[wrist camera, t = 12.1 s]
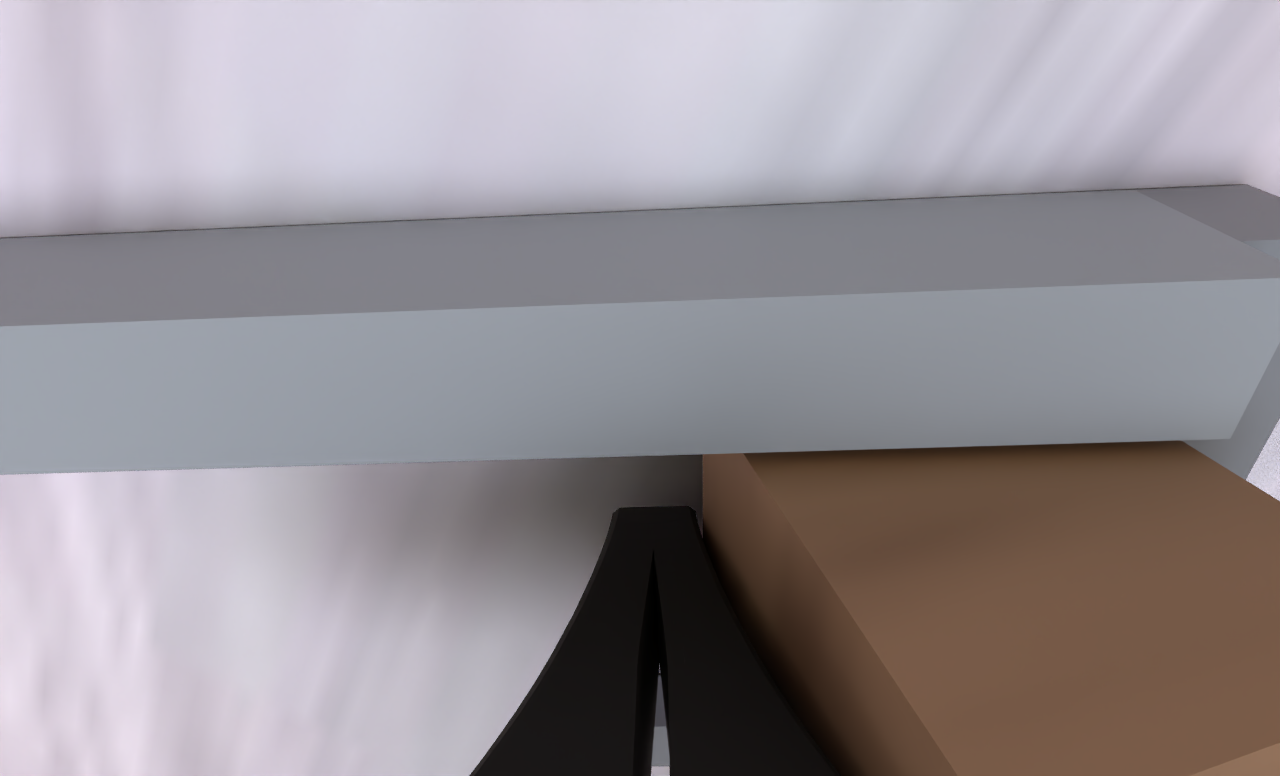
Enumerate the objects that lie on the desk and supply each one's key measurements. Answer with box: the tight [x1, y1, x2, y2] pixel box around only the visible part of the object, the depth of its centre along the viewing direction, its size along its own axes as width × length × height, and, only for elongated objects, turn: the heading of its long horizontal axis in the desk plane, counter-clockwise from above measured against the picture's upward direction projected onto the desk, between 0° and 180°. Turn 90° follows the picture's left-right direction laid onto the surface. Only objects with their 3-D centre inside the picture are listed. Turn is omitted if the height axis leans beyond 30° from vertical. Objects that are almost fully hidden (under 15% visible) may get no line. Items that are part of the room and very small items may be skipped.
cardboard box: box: [703, 440, 1280, 776], centre depth 9 cm, size 7×5×7 cm
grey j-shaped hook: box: [0, 185, 1280, 766], centre depth 12 cm, size 12×21×3 cm, turn 93°
